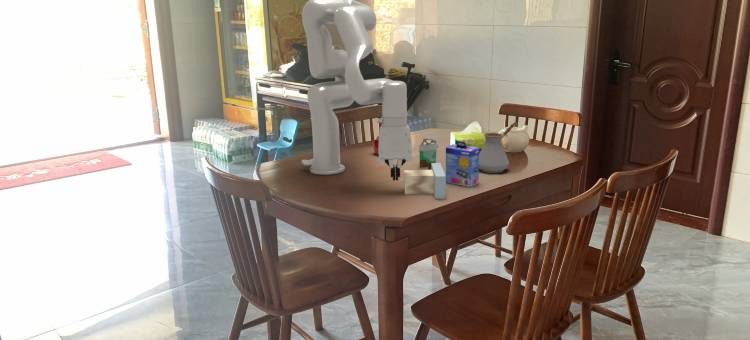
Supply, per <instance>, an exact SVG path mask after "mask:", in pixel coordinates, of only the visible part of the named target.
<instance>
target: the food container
mask: <svg viewBox="0 0 750 340" xmlns="http://www.w3.org/2000/svg"><path fill="white" fill-rule="evenodd" d="M422 140H423V141H422V142H421V144H419V145H418V148H419V149H418V152H419V170H431V163H437V151H438V149H439V143H438V141H437V140H436V139H434V138H424V137H423V138H422Z"/></svg>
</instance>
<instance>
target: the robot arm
mask: <svg viewBox="0 0 750 340" xmlns="http://www.w3.org/2000/svg"><path fill="white" fill-rule="evenodd" d="M301 19H302V20H301V21H302V26H303V30H304V32H305V37H306V45H307V46H306V47H307V55H308V58H307V59H308V68H309V72H310V75H311V76H312V77H313V78H314V79H318V80H319V79H321V80H323V79H333V78H334V79H335V80H334V81H325V82H319V83H316V84H313V85H311V86H310V87H309V89H308V91H307V94H306V95H307V96H306V97H307V103H308V106H309V112H310V120H311V130H312V133H311V134H312V135H311V136H312V149H313V150H312V151H313V152H312V153H313V157H312V158H310V159H301V166H304V167H309V166H310V167H309V171H310V173H312V174H315V175H325V176H327V175H337V174H340V173H343V172H344V171H345V170H346V167H345V165H344V164H341V151H340V150H341V147H340V146H341V145H340V143H341V142H340V125H339V118H338V117H337V115H336V114H335V112H334V109H340V108H347V107H350V106H351V105H352V104H353V103H354V102H356V104H358V105H360V106H367V105H368V106H369V105H374V104H381V110H382V111H381V115H382V116H381V117H380V118H377V123H379V124H381V125H380V127H379V132H378V136H379V137H378V138H379V155H378V158H377V161H378V162H380V163H383V164H386V165H387V166H388V167H389V168H390V178H392V181H393V182H394V181H399V178H401V168H402V166H403V165H404V164H405V163H409V162H412V161H413V155H412V153H413V149H412V148H413V147H412V145H413V144H412V134H411V127H410V125H408V97H407V95H408V93H407V92H408V91H407V90H408V89H407V84H406V82H404V81H402V80H392V79H389V78H385V77H384V78H383V77H382V78H381V77H380V78H371V79H364V77H363V75H362V71H361V70H360V61H361V60H362V59H365V58H366V57H367V56H369V55H370V54H371V53H372V51H373V49H374V45H373V43H372V40H371V37H370V35H369V32H371V31H372V30H374V29H375V27H376V25H377V15H376V12H375V11H374V9H373V8H372V7H370V6H369V5H367V4H365V3H363V2H359V1H357V0H307V2H305V4H304V5H303V9H302V13H301ZM325 25H335V27H336V29H337V32H338V35H339V37H340V40H341V41H342V44H343V47H344V49H345V50H344V49H334V47H333V38H332V35H331V32H330V31H329V30H328V28H327V27H326V26H325ZM393 160H397V161H396V165H395V163H394V161H393Z"/></svg>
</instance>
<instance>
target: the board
mask: <svg viewBox="0 0 750 340" xmlns="http://www.w3.org/2000/svg"><path fill="white" fill-rule="evenodd" d="M431 170H432V171H433V174H434V194H433V195H434V198H435V200H436V199H437V200H440V199H443V200H444V199H446V190H447V189H446V186H447V185H446V183H447V182H446V172H445V171H444V168H443V166H442V163H441V162H436V163H431Z"/></svg>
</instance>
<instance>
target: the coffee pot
mask: <svg viewBox="0 0 750 340" xmlns="http://www.w3.org/2000/svg"><path fill="white" fill-rule="evenodd" d="M515 125H517V126H515ZM518 127H519V124H518V123H517V122H513V123H512V124H510V125H509V127H507V128H506V130H505V131H504V132H502V133H499V132H490V133H489V132H487V133H484V135H483V136H484V138H485V142H484V143H483V146H482V147H481V150H480V151H479V170H480V171H481V172H483V173H488V174H499V173H503V172H504V170H506V169H507V168H508V167H509V165H510V162H509V159H508V156H507V154H506V151H505V149H504V145H503V143H502V141H501V140H502V139H503V138H505V136H506V135H507V134H509V133H510V131H511V130H512V129H513V128H518Z"/></svg>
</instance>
